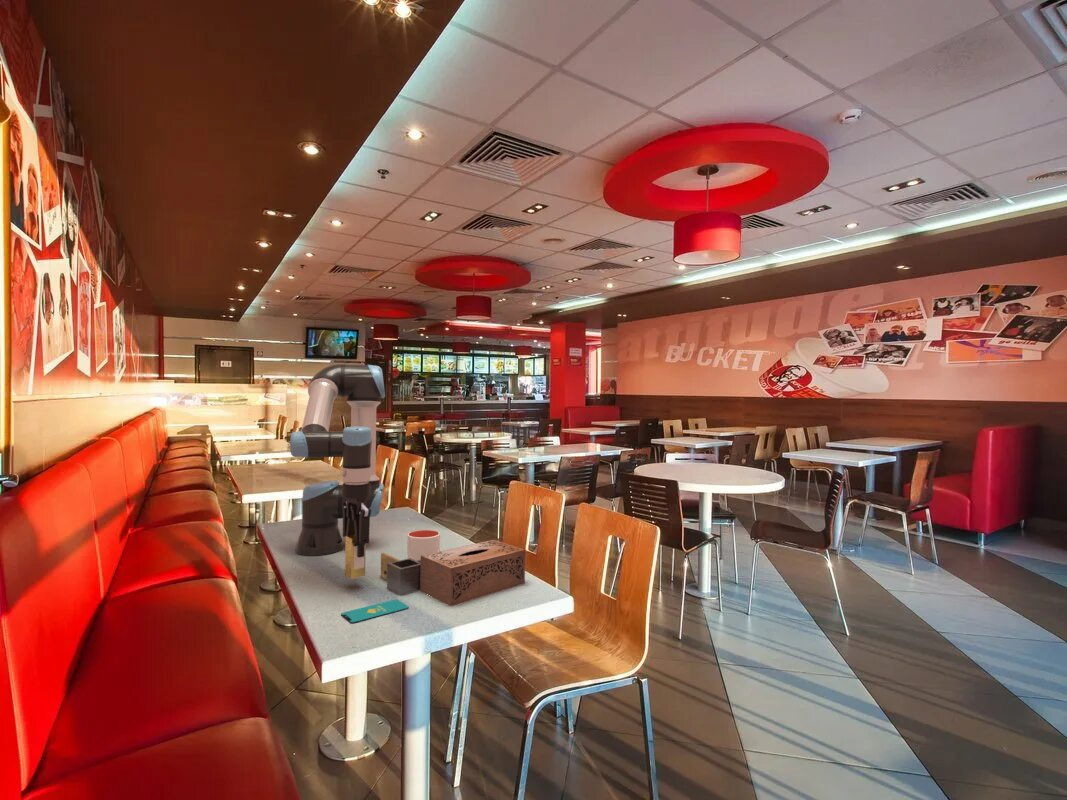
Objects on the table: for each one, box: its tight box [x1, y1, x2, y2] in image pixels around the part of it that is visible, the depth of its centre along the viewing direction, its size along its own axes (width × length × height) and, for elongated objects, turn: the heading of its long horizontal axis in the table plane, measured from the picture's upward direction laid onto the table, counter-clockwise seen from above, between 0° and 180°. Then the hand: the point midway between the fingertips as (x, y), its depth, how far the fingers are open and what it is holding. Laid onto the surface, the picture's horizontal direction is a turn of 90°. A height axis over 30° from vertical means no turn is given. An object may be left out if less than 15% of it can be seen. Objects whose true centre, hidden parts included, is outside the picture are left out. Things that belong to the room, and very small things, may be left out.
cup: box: [406, 529, 441, 561], centre depth 168 cm, size 10×10×10 cm
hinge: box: [380, 552, 421, 596], centre depth 153 cm, size 17×17×7 cm
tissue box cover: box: [419, 539, 526, 607], centre depth 149 cm, size 26×14×10 cm, turn 133°
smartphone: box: [340, 599, 410, 625], centre depth 130 cm, size 7×1×15 cm
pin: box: [344, 534, 367, 580], centre depth 147 cm, size 4×4×11 cm
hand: (355, 565), depth 147 cm, fingers closed on pin, 4 cm apart
